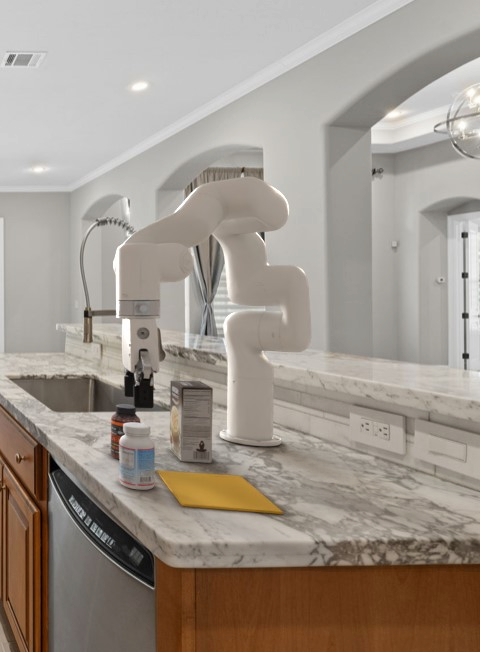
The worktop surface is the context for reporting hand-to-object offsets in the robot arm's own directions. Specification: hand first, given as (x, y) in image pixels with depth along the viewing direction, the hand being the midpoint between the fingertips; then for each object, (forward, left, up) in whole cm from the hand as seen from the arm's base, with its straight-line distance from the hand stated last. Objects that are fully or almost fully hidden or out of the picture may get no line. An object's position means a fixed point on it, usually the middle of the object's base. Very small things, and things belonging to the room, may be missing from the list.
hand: (138, 401), depth 101 cm
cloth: (0, +13, -16) cm, 20 cm away
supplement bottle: (-18, +1, -16) cm, 24 cm away
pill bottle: (0, 0, -16) cm, 16 cm away
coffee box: (-22, +15, -16) cm, 31 cm away
